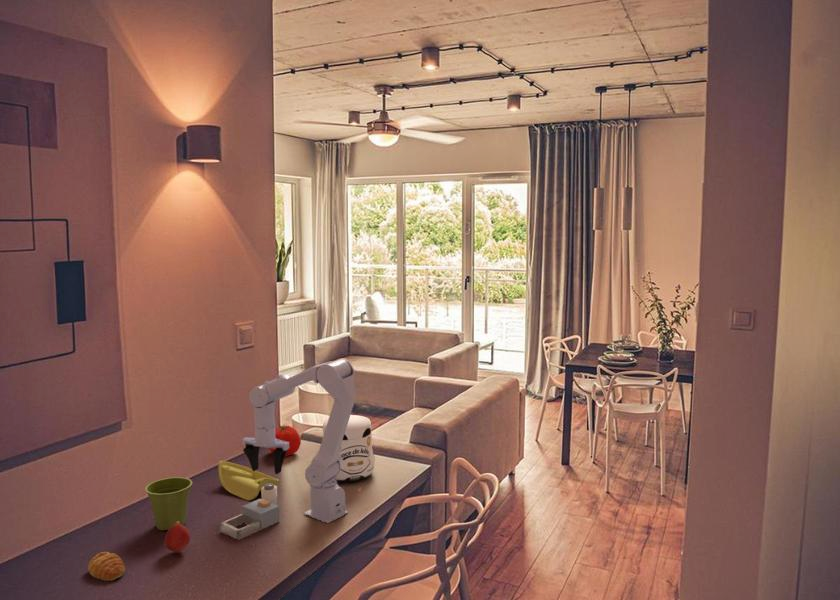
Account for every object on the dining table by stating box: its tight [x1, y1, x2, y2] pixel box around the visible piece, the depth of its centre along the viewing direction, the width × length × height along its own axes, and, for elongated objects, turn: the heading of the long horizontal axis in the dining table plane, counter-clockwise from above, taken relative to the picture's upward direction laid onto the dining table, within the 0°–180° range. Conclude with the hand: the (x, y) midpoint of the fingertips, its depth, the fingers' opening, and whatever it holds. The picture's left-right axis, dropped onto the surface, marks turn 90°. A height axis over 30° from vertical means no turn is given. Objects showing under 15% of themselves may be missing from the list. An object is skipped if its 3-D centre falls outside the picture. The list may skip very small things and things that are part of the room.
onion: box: [164, 522, 191, 554], centre depth 156 cm, size 6×6×8 cm
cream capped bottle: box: [260, 483, 279, 506], centre depth 180 cm, size 4×4×7 cm
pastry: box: [87, 551, 126, 582], centre depth 147 cm, size 9×7×4 cm
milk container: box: [322, 414, 376, 483], centre depth 204 cm, size 17×17×18 cm
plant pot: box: [144, 476, 193, 531], centre depth 170 cm, size 12×12×11 cm
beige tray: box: [219, 512, 261, 541], centre depth 167 cm, size 8×8×2 cm
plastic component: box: [217, 460, 280, 501], centre depth 195 cm, size 20×7×10 cm
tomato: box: [268, 424, 302, 457], centre depth 223 cm, size 11×13×10 cm
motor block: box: [241, 498, 280, 529], centre depth 172 cm, size 8×6×5 cm
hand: (266, 471), depth 184 cm, fingers open, 7 cm apart
